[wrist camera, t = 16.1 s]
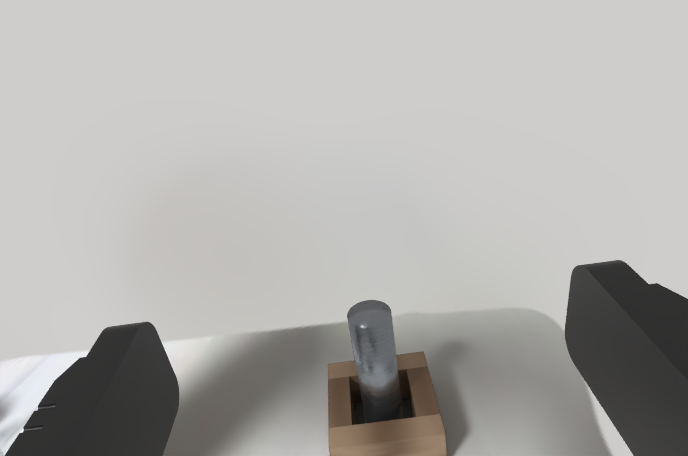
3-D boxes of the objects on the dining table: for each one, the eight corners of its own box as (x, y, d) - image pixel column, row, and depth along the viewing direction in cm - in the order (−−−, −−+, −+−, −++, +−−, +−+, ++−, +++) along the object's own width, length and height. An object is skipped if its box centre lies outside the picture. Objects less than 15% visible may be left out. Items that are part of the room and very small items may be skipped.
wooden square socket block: (335, 478, 36) (328, 448, 34) (333, 391, 43) (328, 364, 42) (447, 464, 36) (445, 434, 34) (425, 379, 43) (423, 351, 41)
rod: (368, 444, 38) (348, 331, 32) (365, 412, 41) (346, 303, 35) (407, 439, 38) (393, 325, 32) (401, 407, 41) (388, 297, 35)
